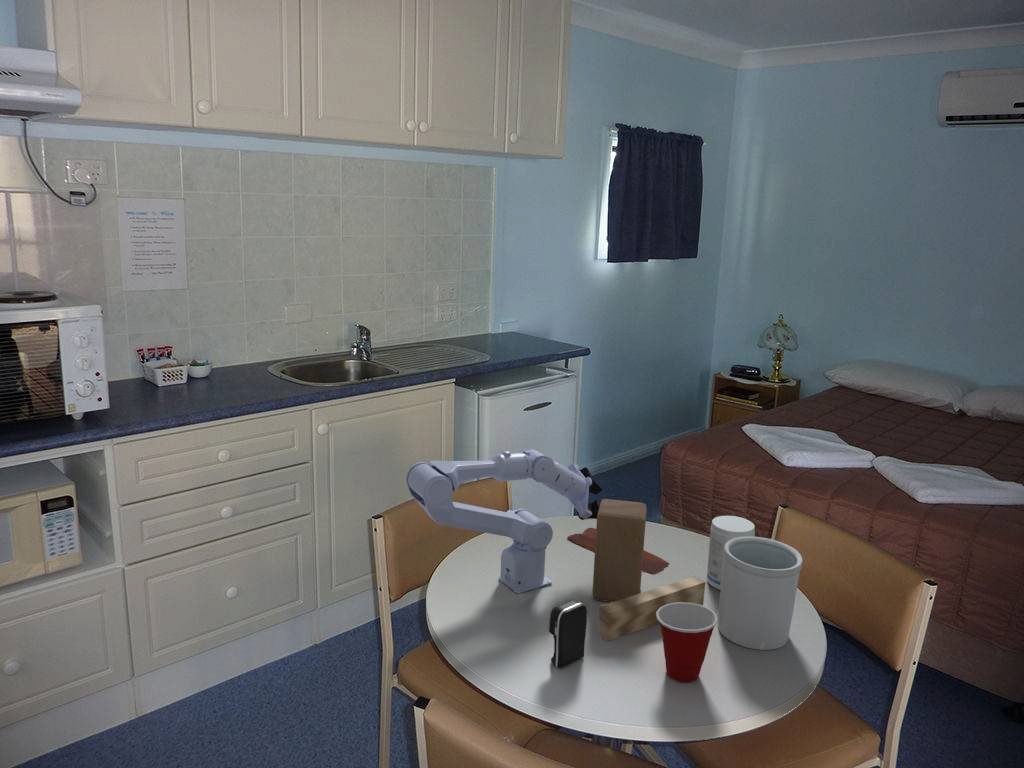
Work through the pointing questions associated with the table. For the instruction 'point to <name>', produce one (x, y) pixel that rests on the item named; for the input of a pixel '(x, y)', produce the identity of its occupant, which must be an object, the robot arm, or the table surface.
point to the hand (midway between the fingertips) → (603, 504)
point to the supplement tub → (719, 536)
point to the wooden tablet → (649, 560)
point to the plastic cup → (685, 638)
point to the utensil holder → (758, 592)
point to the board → (646, 607)
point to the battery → (568, 632)
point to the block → (618, 549)
